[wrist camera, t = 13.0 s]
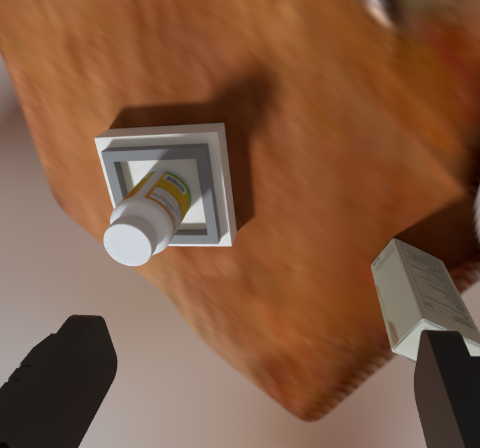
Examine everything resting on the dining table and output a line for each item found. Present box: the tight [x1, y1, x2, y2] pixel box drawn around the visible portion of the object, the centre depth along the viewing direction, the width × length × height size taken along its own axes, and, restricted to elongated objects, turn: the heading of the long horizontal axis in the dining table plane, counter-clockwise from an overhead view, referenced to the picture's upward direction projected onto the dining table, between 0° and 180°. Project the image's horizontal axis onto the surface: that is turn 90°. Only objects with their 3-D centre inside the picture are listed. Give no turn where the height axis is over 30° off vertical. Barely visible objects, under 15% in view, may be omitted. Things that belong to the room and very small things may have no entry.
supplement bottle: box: [104, 169, 192, 266], centre depth 36 cm, size 5×5×10 cm
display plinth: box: [94, 123, 237, 246], centre depth 41 cm, size 12×12×4 cm
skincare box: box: [371, 238, 480, 363], centre depth 37 cm, size 6×4×12 cm
